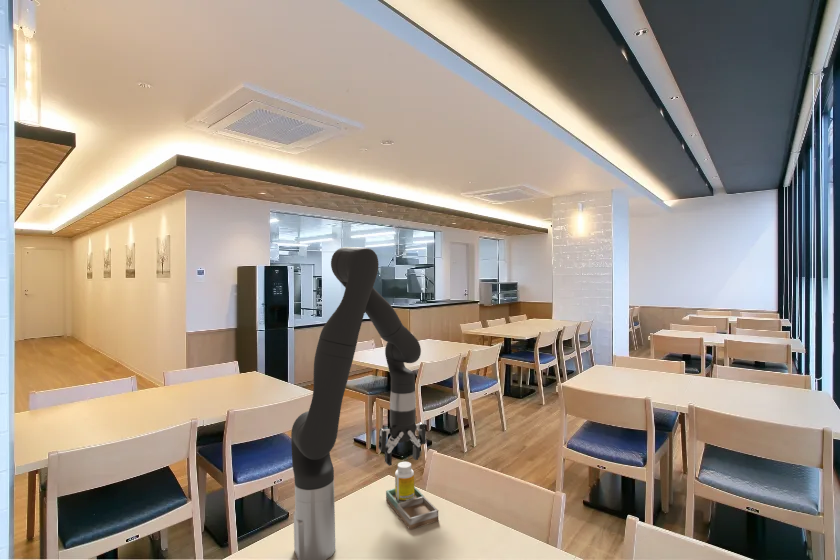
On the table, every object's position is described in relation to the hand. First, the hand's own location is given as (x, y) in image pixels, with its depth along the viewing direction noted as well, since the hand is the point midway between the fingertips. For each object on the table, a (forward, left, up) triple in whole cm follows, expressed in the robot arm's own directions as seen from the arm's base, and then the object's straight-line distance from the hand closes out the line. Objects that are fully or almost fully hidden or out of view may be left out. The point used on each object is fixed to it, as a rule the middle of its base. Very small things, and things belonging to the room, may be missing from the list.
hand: (402, 461), depth 123 cm
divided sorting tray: (0, -4, -12) cm, 13 cm away
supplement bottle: (0, 0, -11) cm, 11 cm away
